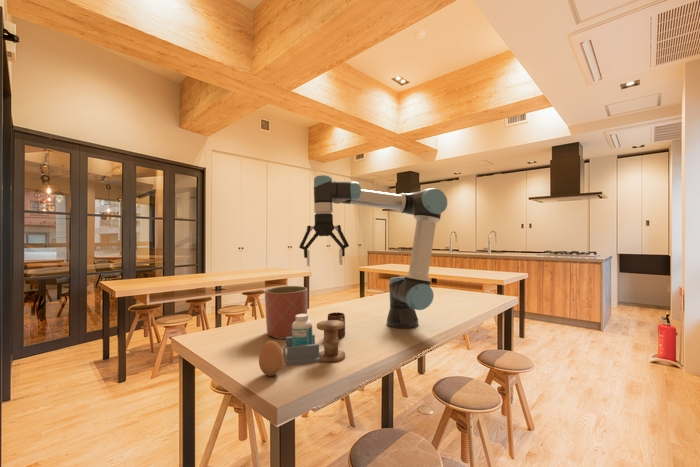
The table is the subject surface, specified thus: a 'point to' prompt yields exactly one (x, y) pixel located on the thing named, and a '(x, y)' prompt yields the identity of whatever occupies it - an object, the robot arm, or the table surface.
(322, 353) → the bobbin
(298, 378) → the table surface
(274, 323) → the planter
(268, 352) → the egg
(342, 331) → the mug
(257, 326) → the table surface
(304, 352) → the card holder
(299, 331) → the pill bottle
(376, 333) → the table surface
